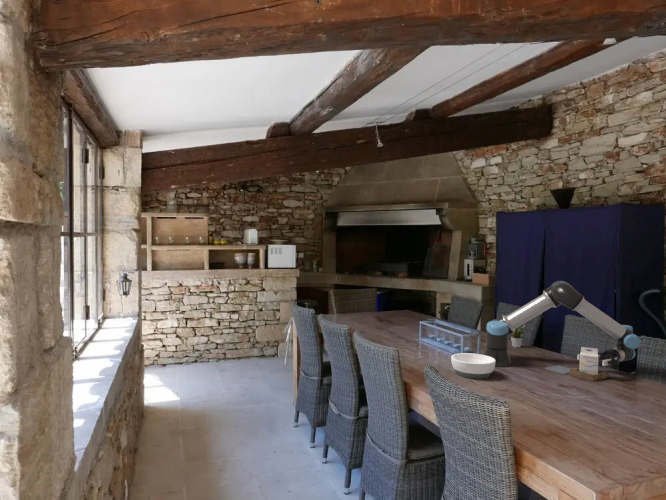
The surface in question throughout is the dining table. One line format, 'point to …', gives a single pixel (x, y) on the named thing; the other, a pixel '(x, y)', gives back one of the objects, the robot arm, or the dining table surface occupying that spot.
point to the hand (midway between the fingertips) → (590, 360)
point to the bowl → (473, 365)
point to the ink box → (589, 360)
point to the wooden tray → (588, 375)
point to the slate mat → (559, 369)
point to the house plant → (517, 337)
